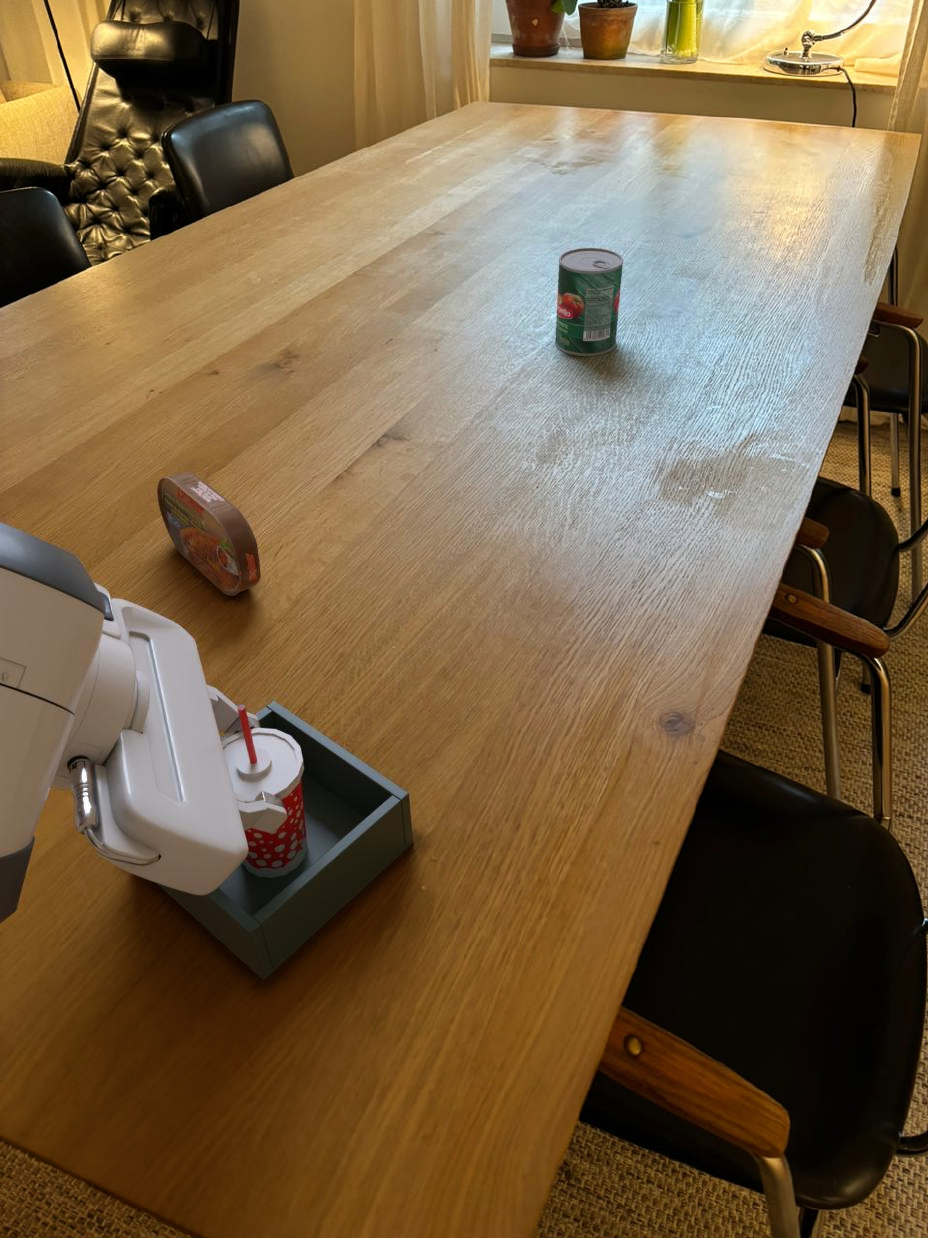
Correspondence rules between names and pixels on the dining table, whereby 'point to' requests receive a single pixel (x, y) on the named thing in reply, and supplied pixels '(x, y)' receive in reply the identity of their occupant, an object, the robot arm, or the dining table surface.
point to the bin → (309, 854)
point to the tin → (209, 532)
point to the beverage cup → (276, 770)
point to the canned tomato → (588, 301)
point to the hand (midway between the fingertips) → (266, 772)
